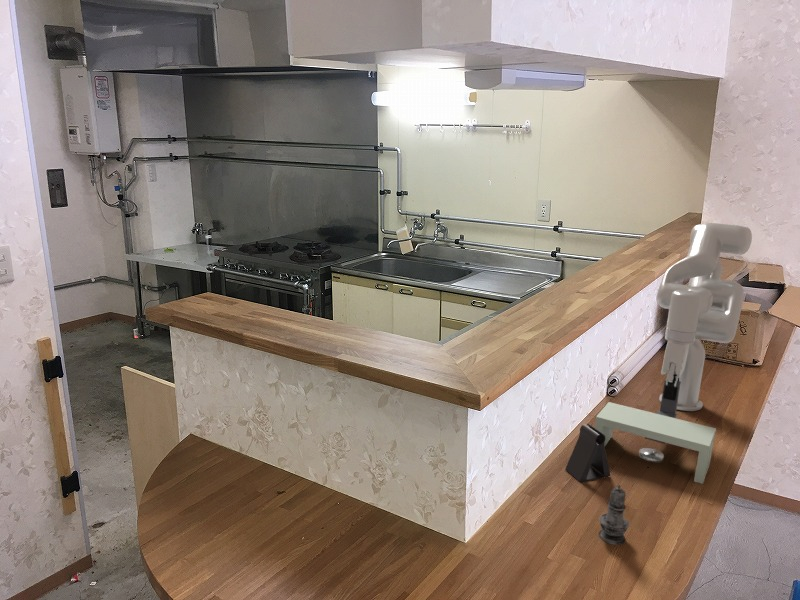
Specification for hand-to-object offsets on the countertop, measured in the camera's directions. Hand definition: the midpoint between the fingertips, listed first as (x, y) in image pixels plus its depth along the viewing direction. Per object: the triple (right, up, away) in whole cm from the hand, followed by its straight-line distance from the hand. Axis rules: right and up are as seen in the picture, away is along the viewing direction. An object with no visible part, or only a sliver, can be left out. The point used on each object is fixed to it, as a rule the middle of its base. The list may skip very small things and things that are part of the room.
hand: (670, 397), depth 181 cm
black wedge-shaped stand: (-30, -16, -22) cm, 40 cm away
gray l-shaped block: (-4, -8, -4) cm, 10 cm away
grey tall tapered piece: (-32, -22, -48) cm, 61 cm away
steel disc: (-10, -14, -12) cm, 21 cm away
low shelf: (-11, -14, -13) cm, 22 cm away
